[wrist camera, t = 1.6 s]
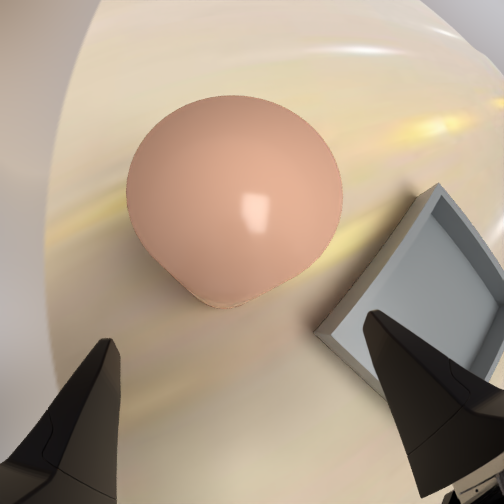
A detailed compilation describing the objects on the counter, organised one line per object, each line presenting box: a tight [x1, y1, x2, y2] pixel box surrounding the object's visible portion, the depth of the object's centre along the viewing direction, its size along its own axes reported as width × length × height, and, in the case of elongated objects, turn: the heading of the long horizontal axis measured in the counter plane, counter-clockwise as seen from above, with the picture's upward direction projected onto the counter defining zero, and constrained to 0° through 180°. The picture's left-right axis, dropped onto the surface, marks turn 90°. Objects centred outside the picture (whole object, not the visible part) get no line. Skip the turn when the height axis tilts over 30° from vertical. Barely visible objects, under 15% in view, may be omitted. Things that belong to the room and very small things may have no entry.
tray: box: [314, 183, 504, 401], centre depth 21 cm, size 16×16×4 cm
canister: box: [126, 96, 343, 309], centre depth 15 cm, size 6×6×14 cm
